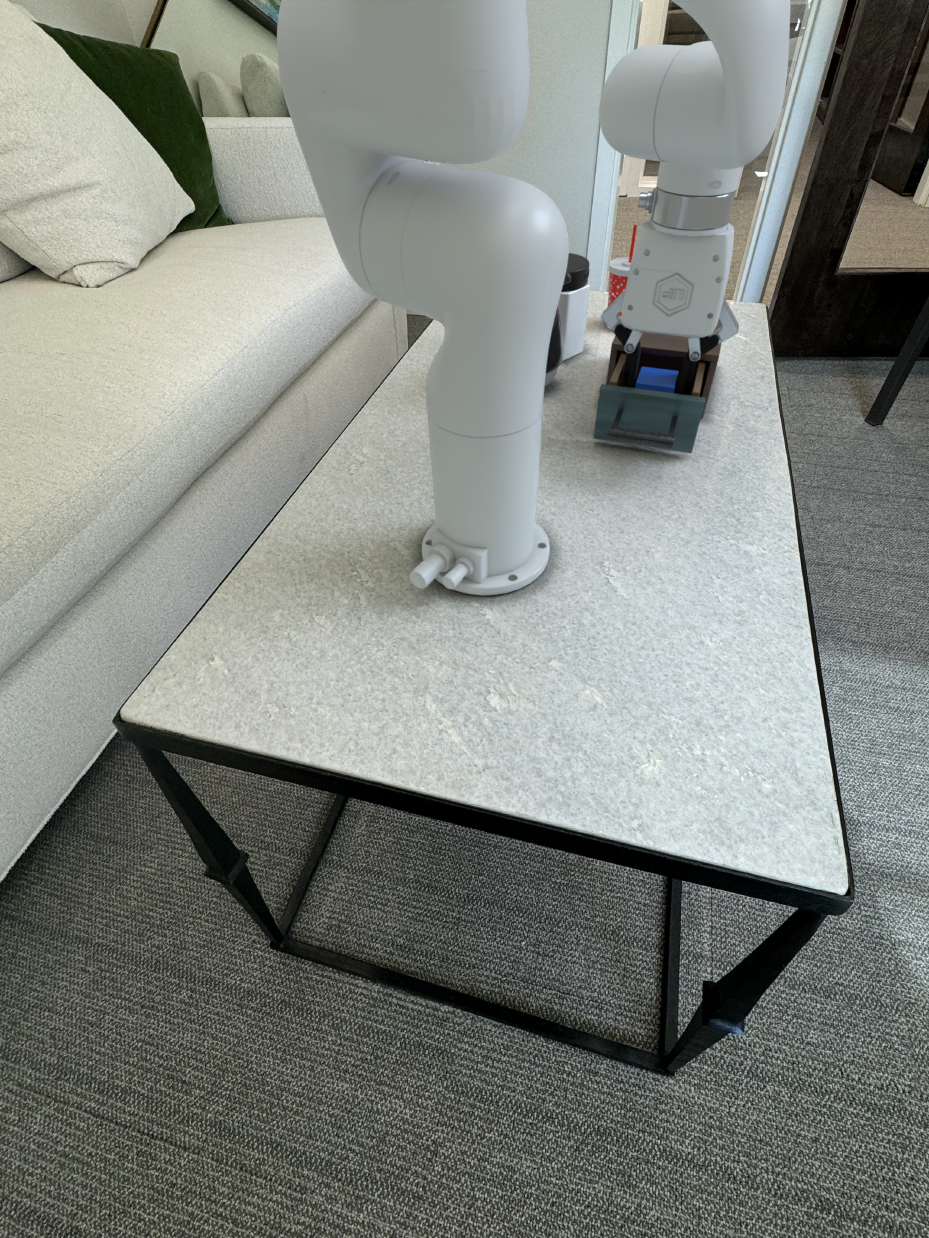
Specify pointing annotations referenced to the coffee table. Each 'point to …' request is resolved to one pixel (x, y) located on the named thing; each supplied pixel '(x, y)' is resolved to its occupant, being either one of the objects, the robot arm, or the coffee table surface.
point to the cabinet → (672, 348)
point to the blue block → (657, 379)
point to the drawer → (650, 408)
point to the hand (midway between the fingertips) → (655, 384)
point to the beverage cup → (620, 273)
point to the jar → (574, 305)
